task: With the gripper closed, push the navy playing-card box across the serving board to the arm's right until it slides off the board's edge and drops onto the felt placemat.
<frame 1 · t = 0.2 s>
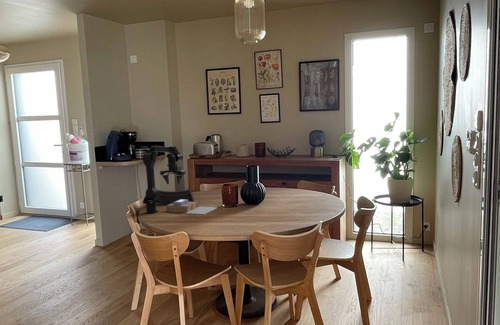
hand: (173, 184, 294), 14 cm above the table, tool pointing down, fingers open, 9 cm apart
board: (182, 209, 275), on the table
card box: (181, 203, 275), point 4 cm above the table, touching board
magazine: (173, 204, 295), on the table
mat: (201, 210, 269), on the table
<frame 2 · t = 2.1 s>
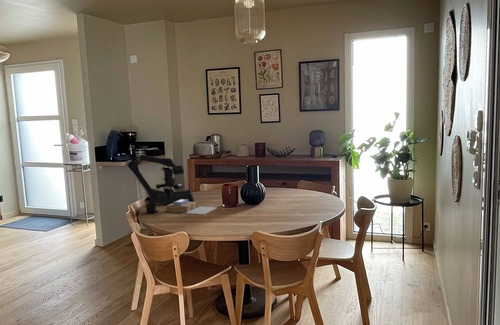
hand: (170, 198, 278), 7 cm above the table, tool pointing down, fingers closed
nothing on the table moved.
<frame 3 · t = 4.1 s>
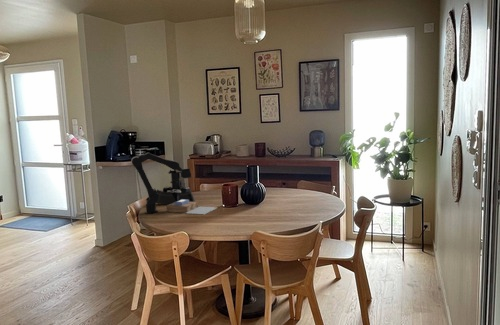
hand: (177, 201, 276), 5 cm above the table, tool pointing down, fingers closed
card box: (181, 203, 275), point 4 cm above the table, touching board, gripper
everything else where it was.
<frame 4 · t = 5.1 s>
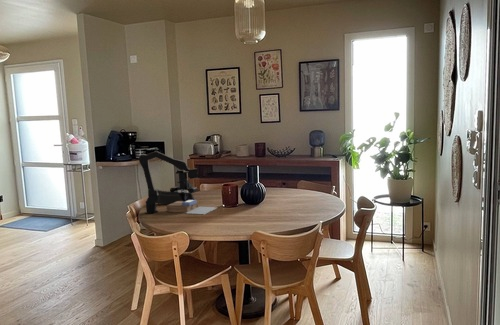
hand: (184, 202, 274), 5 cm above the table, tool pointing down, fingers closed
card box: (189, 204, 272), point 4 cm above the table, touching board
everything else where it was.
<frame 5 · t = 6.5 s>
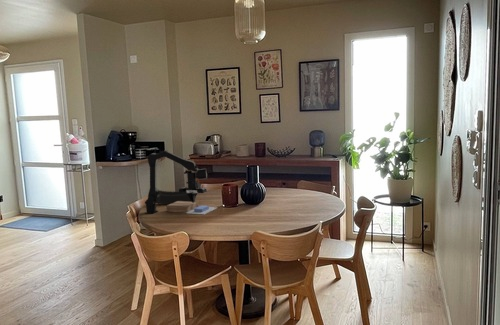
hand: (193, 202, 271), 5 cm above the table, tool pointing down, fingers closed
card box: (201, 207, 269), point 2 cm above the table, tilted 180°, touching mat
everything else where it was.
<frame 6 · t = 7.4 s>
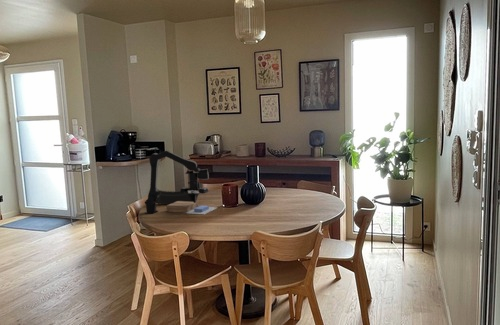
hand: (194, 202, 270), 5 cm above the table, tool pointing down, fingers closed
nothing on the table moved.
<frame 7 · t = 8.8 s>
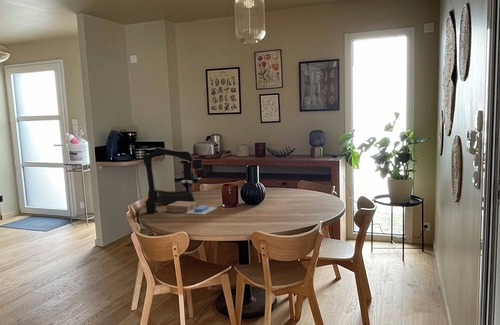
hand: (188, 192, 272), 12 cm above the table, tool pointing down, fingers closed
nothing on the table moved.
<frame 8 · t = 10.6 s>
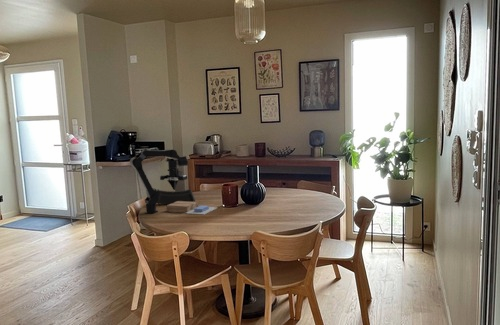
hand: (174, 189, 278), 13 cm above the table, tool pointing down, fingers closed
nothing on the table moved.
at the end: card box point 2.4 cm above the table; card box inside the target area on the mat (0.3 cm from its centre), point 2.4 cm above the mat's base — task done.
